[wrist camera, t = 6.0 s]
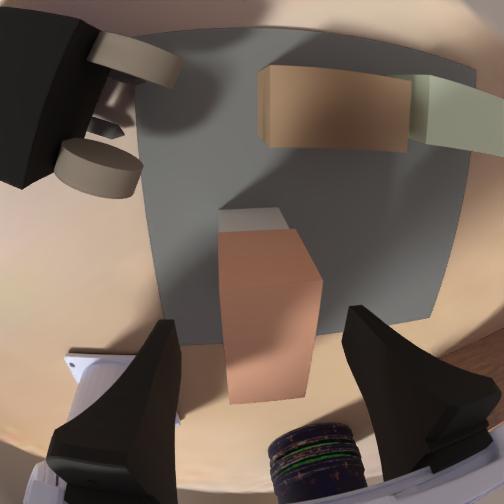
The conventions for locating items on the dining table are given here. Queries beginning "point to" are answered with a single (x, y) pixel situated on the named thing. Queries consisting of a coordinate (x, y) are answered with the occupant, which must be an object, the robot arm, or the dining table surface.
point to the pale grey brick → (251, 219)
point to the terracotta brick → (267, 313)
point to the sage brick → (455, 115)
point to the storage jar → (315, 463)
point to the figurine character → (68, 100)
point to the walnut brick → (332, 109)
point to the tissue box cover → (484, 367)
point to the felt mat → (291, 180)
